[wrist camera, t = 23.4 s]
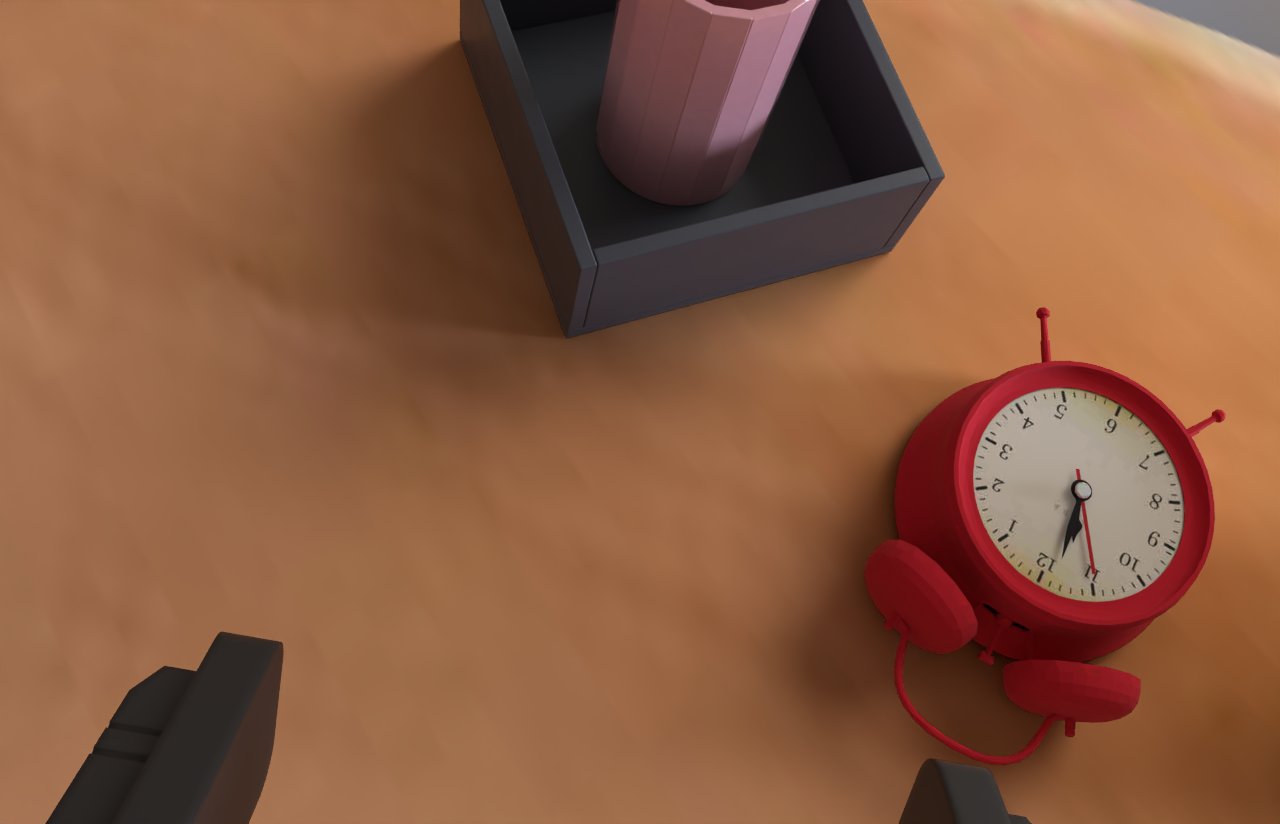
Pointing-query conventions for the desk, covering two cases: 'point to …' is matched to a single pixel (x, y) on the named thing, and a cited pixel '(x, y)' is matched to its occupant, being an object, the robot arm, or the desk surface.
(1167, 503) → the alarm clock
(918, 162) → the tub
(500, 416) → the desk surface
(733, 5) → the cup
